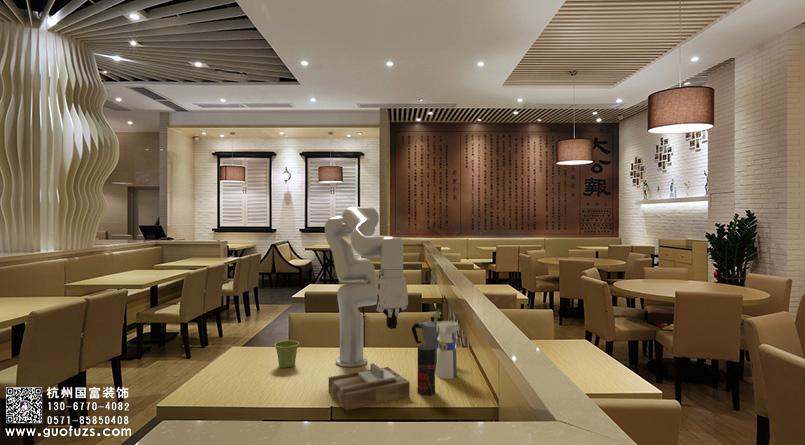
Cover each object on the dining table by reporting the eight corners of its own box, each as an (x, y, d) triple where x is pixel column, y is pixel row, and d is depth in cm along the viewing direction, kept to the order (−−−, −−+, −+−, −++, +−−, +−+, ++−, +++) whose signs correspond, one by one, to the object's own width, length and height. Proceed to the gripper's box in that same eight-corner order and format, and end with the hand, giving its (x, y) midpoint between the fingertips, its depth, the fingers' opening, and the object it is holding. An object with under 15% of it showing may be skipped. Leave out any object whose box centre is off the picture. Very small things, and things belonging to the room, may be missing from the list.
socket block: (328, 392, 148) (328, 374, 148) (387, 380, 158) (387, 364, 158) (345, 410, 134) (345, 391, 134) (409, 397, 144) (409, 379, 144)
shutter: (358, 375, 149) (358, 365, 149) (383, 370, 154) (383, 360, 154) (369, 385, 141) (369, 374, 141) (396, 379, 146) (396, 369, 146)
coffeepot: (444, 356, 187) (444, 313, 187) (451, 363, 178) (451, 318, 178) (408, 358, 184) (408, 315, 183) (414, 365, 174) (414, 320, 174)
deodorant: (416, 388, 151) (416, 345, 151) (433, 388, 152) (433, 344, 151) (418, 395, 145) (418, 350, 145) (436, 395, 146) (436, 349, 146)
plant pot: (269, 367, 172) (269, 345, 172) (284, 360, 180) (284, 339, 180) (289, 371, 168) (289, 348, 168) (303, 363, 177) (303, 341, 177)
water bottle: (452, 380, 159) (453, 311, 158) (431, 376, 163) (431, 308, 163) (462, 374, 166) (462, 307, 165) (441, 369, 170) (442, 304, 170)
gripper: (376, 276, 143) (376, 333, 143) (416, 273, 150) (416, 327, 150) (366, 273, 149) (366, 328, 150) (406, 271, 156) (406, 323, 157)
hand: (391, 327), depth 150 cm, fingers closed
